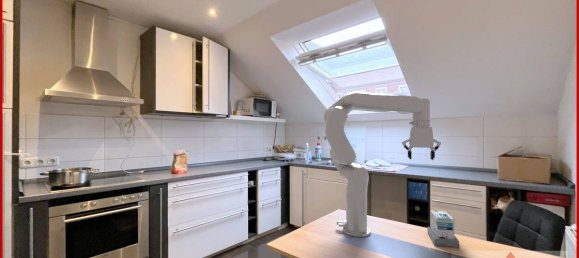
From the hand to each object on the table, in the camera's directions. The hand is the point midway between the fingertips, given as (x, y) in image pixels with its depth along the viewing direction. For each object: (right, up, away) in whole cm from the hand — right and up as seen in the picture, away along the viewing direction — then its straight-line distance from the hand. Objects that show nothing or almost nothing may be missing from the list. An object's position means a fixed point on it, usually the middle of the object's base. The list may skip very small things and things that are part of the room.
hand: (421, 159), depth 129 cm
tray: (+2, -34, -14) cm, 36 cm away
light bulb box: (+2, -33, -14) cm, 36 cm away
